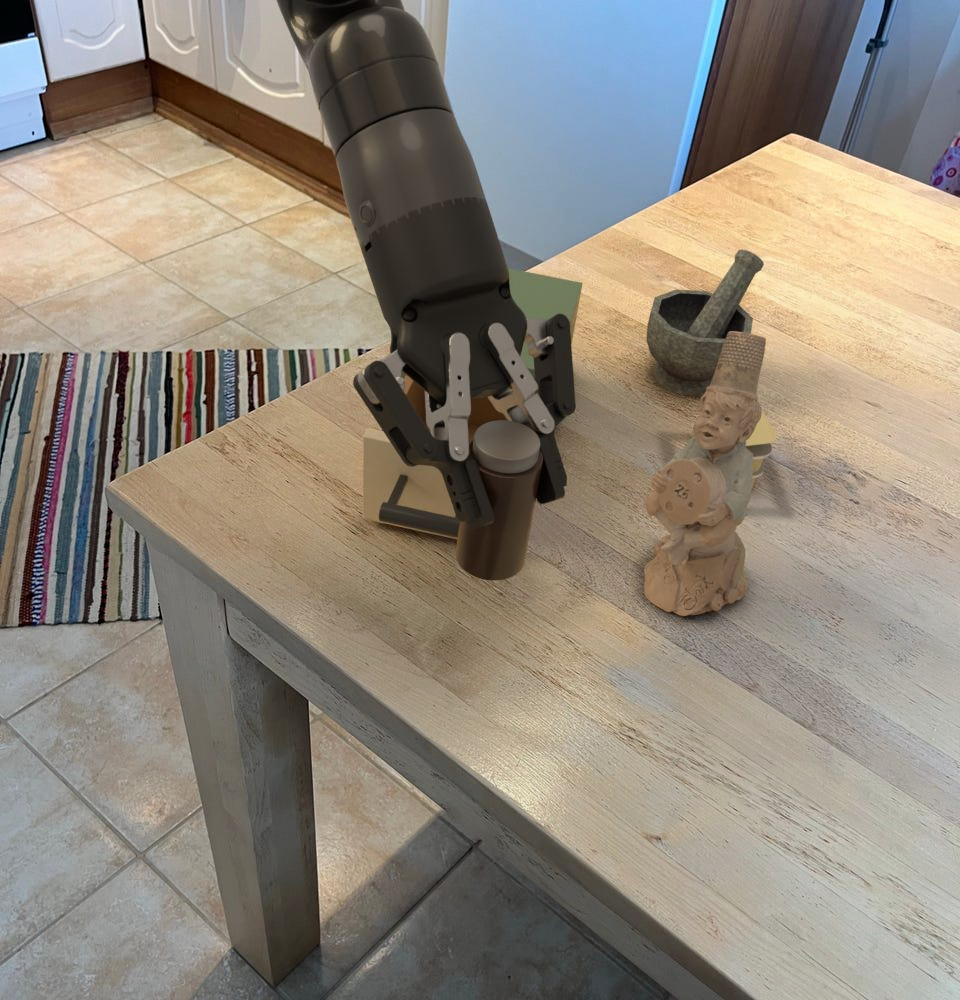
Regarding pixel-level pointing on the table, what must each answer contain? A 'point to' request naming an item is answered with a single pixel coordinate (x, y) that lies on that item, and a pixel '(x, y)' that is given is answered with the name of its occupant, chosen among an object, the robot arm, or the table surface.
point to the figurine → (708, 491)
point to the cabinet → (543, 301)
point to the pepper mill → (502, 500)
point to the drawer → (413, 476)
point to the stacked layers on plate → (760, 445)
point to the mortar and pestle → (698, 327)
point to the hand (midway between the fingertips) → (517, 512)
